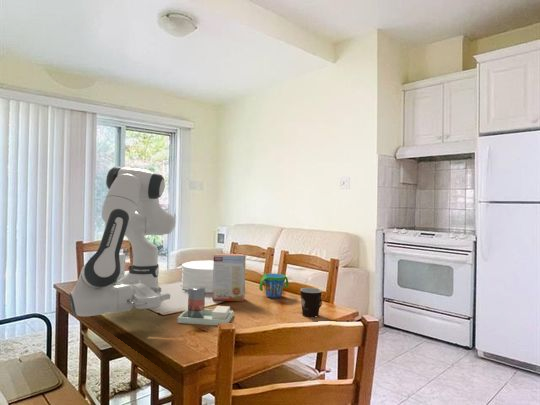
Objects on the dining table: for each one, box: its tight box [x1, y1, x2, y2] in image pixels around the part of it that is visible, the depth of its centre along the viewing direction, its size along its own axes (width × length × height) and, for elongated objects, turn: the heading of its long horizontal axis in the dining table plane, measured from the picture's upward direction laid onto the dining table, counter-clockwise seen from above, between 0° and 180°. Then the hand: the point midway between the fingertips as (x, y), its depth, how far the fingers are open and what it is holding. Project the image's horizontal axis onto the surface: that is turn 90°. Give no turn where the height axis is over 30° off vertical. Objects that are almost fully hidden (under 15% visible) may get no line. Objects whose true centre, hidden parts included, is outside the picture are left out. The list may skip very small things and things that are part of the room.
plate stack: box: [180, 260, 214, 293], centre depth 193 cm, size 28×28×12 cm
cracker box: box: [212, 252, 247, 303], centre depth 167 cm, size 14×6×21 cm, turn 84°
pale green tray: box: [177, 308, 234, 326], centre depth 136 cm, size 18×12×2 cm, turn 85°
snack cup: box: [259, 273, 289, 299], centre depth 175 cm, size 16×10×10 cm
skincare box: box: [112, 252, 126, 285], centre depth 194 cm, size 8×7×16 cm
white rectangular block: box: [212, 305, 231, 320], centre depth 136 cm, size 5×8×4 cm, turn 175°
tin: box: [187, 287, 206, 318], centre depth 137 cm, size 6×6×11 cm
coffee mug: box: [300, 287, 323, 318], centre depth 146 cm, size 12×9×10 cm
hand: (165, 292), depth 130 cm, fingers open, 8 cm apart
